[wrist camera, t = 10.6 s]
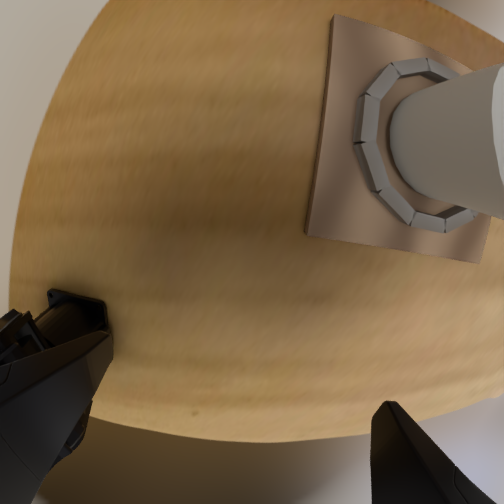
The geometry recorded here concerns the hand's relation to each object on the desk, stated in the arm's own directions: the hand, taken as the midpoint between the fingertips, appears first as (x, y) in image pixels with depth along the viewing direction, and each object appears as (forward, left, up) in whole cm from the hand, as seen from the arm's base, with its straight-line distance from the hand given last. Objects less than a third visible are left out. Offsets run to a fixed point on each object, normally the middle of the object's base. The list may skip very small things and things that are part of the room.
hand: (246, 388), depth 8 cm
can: (+11, +10, -12) cm, 19 cm away
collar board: (+11, +10, -13) cm, 20 cm away
